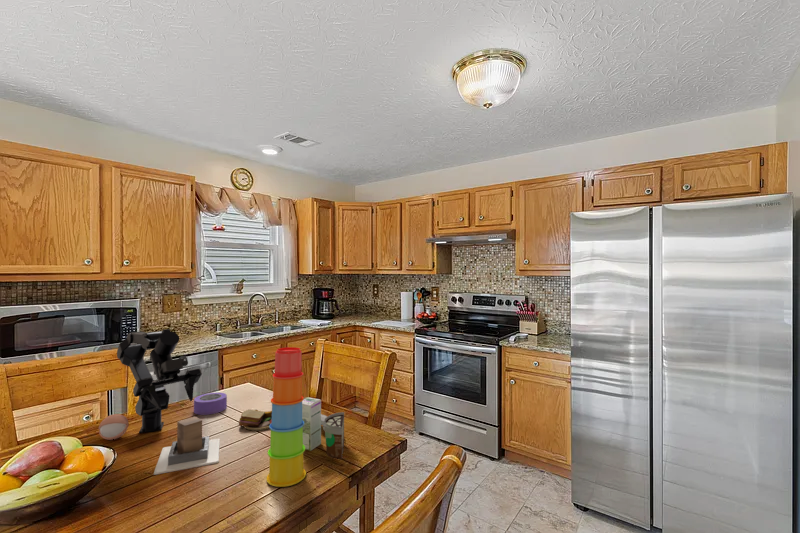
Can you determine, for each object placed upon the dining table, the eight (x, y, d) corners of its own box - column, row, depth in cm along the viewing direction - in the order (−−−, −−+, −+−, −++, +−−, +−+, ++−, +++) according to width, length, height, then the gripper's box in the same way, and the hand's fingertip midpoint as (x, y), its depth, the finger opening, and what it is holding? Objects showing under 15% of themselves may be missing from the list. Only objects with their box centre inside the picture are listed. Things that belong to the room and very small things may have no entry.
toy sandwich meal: (270, 433, 131) (270, 419, 131) (233, 431, 132) (233, 417, 132) (284, 418, 143) (284, 405, 143) (250, 417, 145) (250, 404, 145)
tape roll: (198, 405, 156) (198, 393, 156) (229, 403, 159) (229, 391, 159) (190, 416, 145) (190, 403, 145) (223, 413, 148) (223, 400, 148)
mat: (163, 449, 119) (163, 447, 119) (219, 439, 125) (219, 438, 125) (153, 474, 104) (153, 473, 104) (218, 462, 111) (218, 461, 111)
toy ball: (94, 445, 121) (94, 420, 121) (103, 435, 128) (103, 412, 128) (124, 441, 124) (124, 417, 124) (131, 431, 131) (131, 408, 131)
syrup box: (321, 443, 123) (321, 398, 123) (310, 451, 117) (310, 404, 117) (307, 440, 125) (307, 396, 125) (295, 448, 120) (295, 401, 120)
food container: (325, 443, 123) (325, 412, 123) (344, 442, 124) (344, 411, 124) (320, 462, 111) (320, 428, 111) (341, 461, 111) (341, 427, 111)
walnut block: (177, 454, 114) (177, 421, 114) (194, 448, 118) (194, 416, 118) (184, 460, 111) (184, 425, 111) (202, 453, 115) (202, 420, 115)
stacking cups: (258, 478, 102) (259, 350, 102) (291, 463, 110) (291, 344, 110) (280, 493, 96) (280, 356, 96) (313, 476, 104) (314, 349, 104)
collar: (172, 449, 117) (172, 441, 117) (209, 443, 121) (209, 435, 121) (168, 465, 108) (168, 456, 108) (207, 458, 112) (207, 449, 112)
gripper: (136, 354, 117) (149, 398, 110) (199, 344, 131) (214, 383, 124) (127, 374, 122) (139, 418, 115) (189, 363, 136) (203, 401, 129)
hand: (176, 404), depth 121 cm, fingers open, 9 cm apart
